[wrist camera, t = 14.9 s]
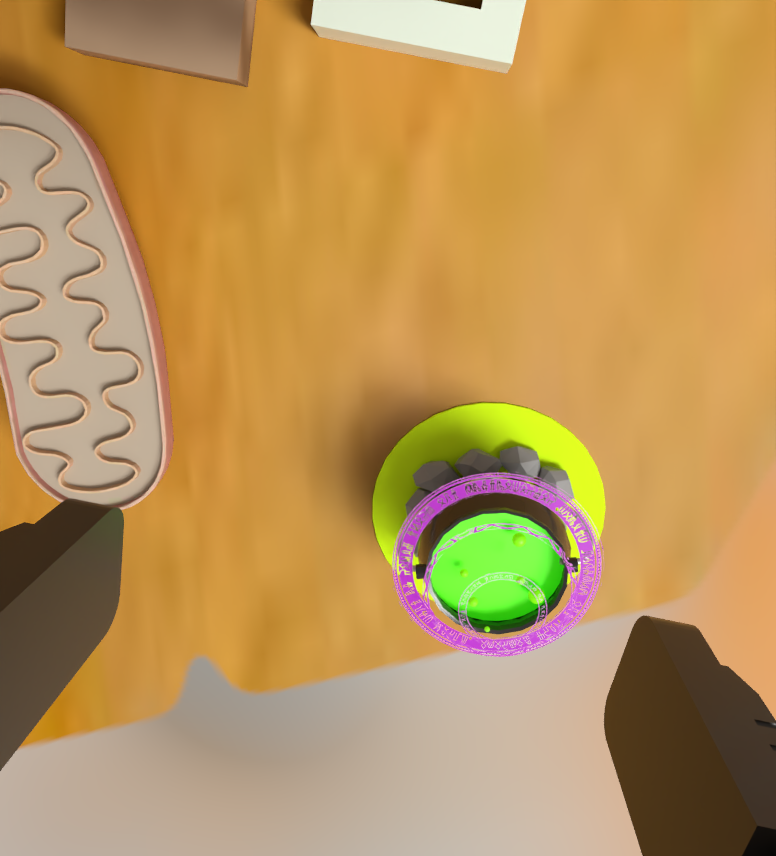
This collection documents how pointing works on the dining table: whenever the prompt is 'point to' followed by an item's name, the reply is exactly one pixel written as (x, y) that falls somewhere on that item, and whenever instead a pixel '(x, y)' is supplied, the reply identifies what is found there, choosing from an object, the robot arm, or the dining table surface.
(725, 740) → the robot arm
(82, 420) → the anatomical model
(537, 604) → the toy cauldron
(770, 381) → the dining table surface
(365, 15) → the white square frame
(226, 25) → the brown rectangular frame
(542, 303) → the dining table surface
